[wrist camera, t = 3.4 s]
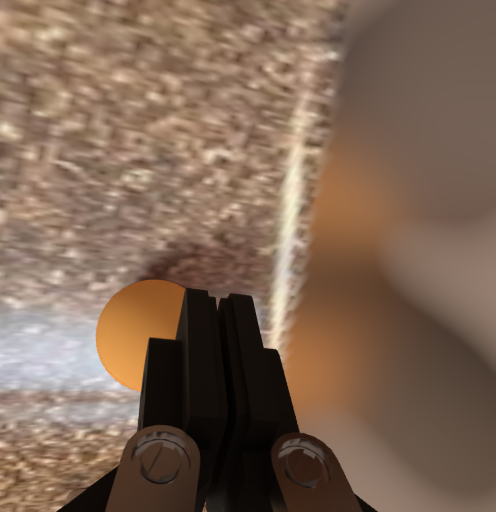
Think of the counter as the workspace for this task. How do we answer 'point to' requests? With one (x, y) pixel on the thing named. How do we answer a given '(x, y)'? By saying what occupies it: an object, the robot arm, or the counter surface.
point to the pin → (74, 494)
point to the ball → (136, 327)
